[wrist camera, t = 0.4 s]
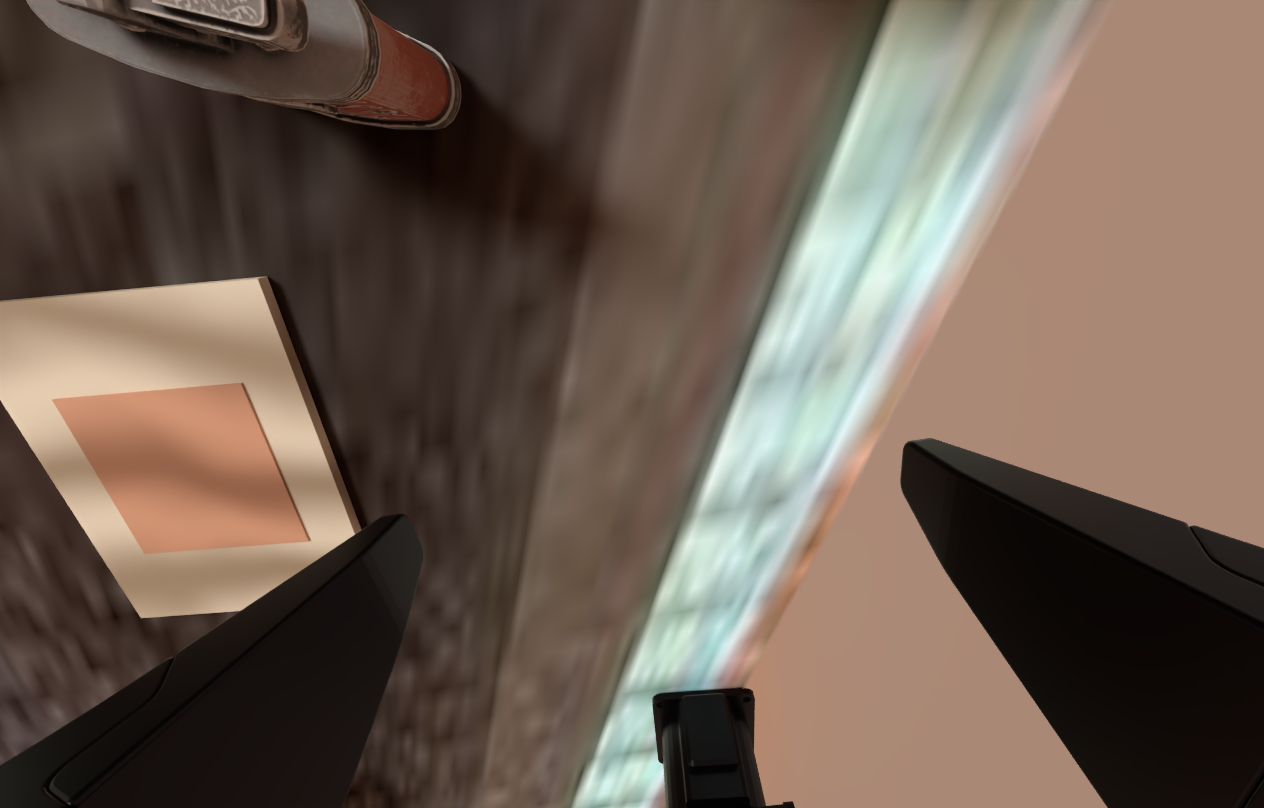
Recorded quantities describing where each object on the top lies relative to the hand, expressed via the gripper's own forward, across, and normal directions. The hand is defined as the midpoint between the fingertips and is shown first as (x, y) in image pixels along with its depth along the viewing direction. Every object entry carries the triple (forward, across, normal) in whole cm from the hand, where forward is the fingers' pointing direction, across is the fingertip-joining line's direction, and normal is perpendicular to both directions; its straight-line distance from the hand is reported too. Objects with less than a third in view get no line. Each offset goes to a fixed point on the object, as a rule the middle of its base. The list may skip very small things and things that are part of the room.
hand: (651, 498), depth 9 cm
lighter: (+15, +9, -10) cm, 20 cm away
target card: (+14, +23, +5) cm, 28 cm away
